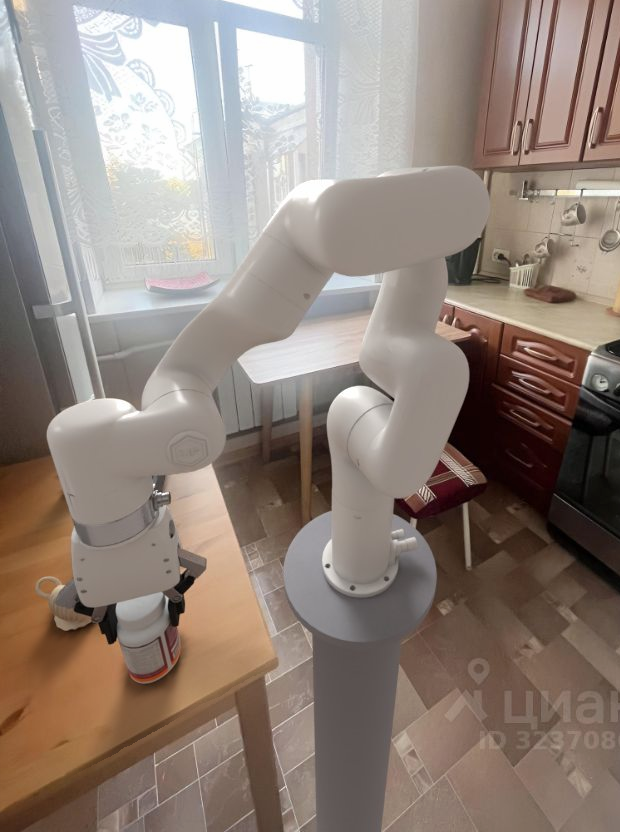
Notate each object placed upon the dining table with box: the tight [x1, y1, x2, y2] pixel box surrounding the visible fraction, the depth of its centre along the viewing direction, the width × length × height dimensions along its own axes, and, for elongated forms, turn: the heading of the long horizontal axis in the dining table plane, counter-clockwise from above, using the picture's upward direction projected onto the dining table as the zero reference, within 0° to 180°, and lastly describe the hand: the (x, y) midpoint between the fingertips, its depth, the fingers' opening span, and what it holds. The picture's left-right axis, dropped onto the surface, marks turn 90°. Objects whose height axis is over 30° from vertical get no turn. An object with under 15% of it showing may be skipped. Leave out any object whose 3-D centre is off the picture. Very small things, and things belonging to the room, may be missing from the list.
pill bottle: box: [116, 592, 182, 685], centre depth 49 cm, size 6×6×11 cm
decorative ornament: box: [35, 575, 93, 632], centre depth 55 cm, size 4×8×5 cm, turn 64°
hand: (146, 622), depth 48 cm, fingers closed on pill bottle, 6 cm apart
